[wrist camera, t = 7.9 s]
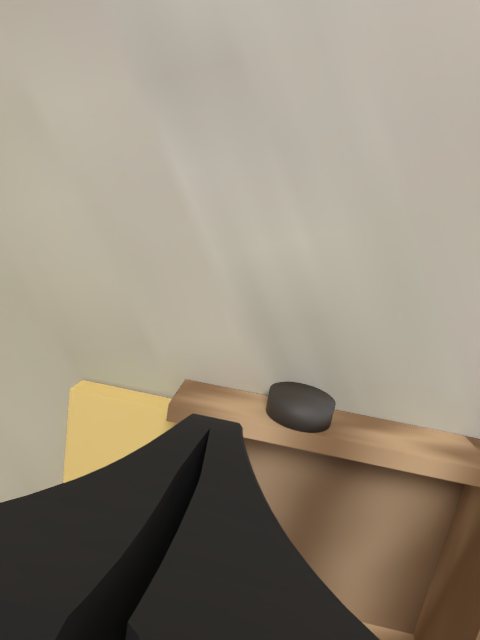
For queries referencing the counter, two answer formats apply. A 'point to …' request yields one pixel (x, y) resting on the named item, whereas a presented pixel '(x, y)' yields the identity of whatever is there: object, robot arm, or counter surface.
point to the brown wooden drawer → (365, 504)
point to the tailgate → (109, 425)
